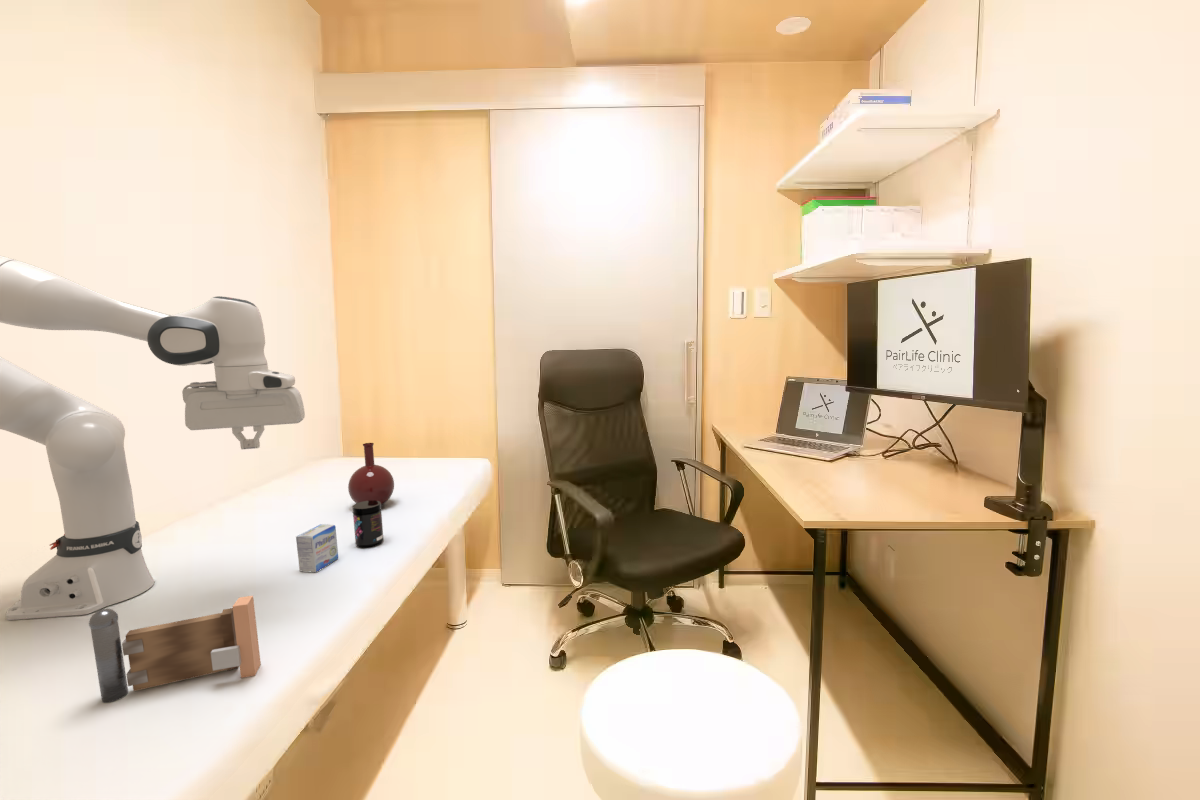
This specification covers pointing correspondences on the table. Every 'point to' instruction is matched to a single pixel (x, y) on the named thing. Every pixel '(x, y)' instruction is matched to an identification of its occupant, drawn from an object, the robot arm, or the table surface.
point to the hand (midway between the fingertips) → (250, 448)
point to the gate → (177, 649)
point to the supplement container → (368, 523)
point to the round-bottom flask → (370, 480)
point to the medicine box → (317, 547)
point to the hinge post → (108, 655)
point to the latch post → (241, 641)
